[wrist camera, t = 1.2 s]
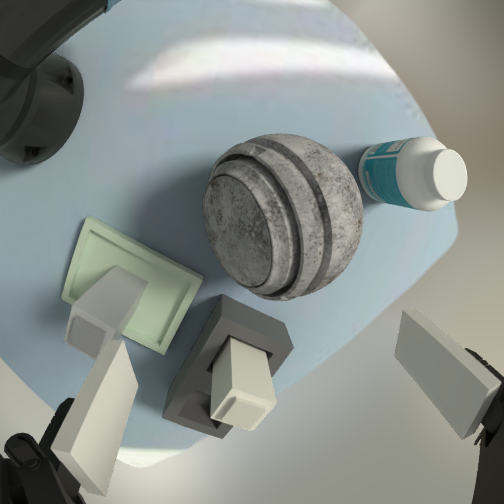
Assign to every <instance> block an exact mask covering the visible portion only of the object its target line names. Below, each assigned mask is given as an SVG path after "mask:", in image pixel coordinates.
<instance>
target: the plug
mask: <svg viewBox="0 0 504 504" xmlns="http://www.w3.org/2000/svg"><path fill="white" fill-rule="evenodd" d="M147 284H148V281H146V280H144V279H142V278H140V277H138V276H136V275H134V274H133V273H131V272H129V271H127V270H125V269H124V268H122V267H120V266H118V265H116V266H115V267H114V268H113V269H111V270H110V271H109V272H108V273H107V274H106V275H105V276H103V277H102V278H101V279H100V280H99V281H98V282H97V283H96V284H94V285H93V286H92V287H91V288H90V289H89V290H88V291H87V292H86V293H85V294H83V295H82V296H81V297H80V298H79V299H78V300H77V301H76V302H75V303H74V304H73V305H72V309H71V313H70V317H69V321H68V325H67V329H66V333H65V338H64V342H66V343H67V344H69V345H71V346H72V347H74V348H76V349H77V350H79V351H81V352H82V353H84V354H86V355H88V356H89V357H91V358H93V359H95V360H96V361H97V359H98V357H99V355H100V354H101V352H102V350H103V349H104V347H105V345H106V344H107V342H108V340H118V339H119V337H120V336H121V334H122V332H123V331H124V329H125V328H126V326H127V324H128V323H129V321H130V319H131V318H132V316H133V315H134V313H135V311H136V309H137V307H138V305H139V302H140V300H141V297H142V295H143V293H144V291H145V288H146V286H147Z"/></svg>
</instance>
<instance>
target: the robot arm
mask: <svg viewBox="0 0 504 504" xmlns="http://www.w3.org/2000/svg"><path fill="white" fill-rule="evenodd" d="M119 1H121V0H0V155H1V156H2V157H4V158H6V159H7V160H9V161H11V162H14V163H17V164H35V163H39V162H42V161H44V160H46V159H48V158H49V157H51V156H52V155H53V154H55V153H56V152H57V151H58V150H59V149H60V148H61V147H62V146H63V145H64V143H65V142H66V141H67V139H68V138H69V137H70V135H71V133H72V132H73V130H74V128H75V126H76V124H77V121H78V119H79V116H80V113H81V109H82V105H83V98H84V86H83V80H82V77H81V74H80V72H79V70H78V69H77V67H76V66H75V65H74V64H73V63H72V62H70V61H68V60H67V59H65V58H64V57H62V56H59V55H56V54H51V53H52V52H53V51H55V50H56V49H57V48H58V47H59V46H60V45H62V44H63V43H64V42H65V41H66V40H68V39H69V38H70V37H71V36H73V35H74V34H75V33H77V32H78V31H79V30H80V29H82V28H83V27H84V26H86V25H87V24H89V23H90V22H91V21H93V20H94V19H96V18H97V17H98V16H100V15H101V14H103V13H107V12H108V11H109V10H110V9H111V8H112V6H114V5H115V4H116V3H118V2H119ZM394 356H395V357H396V359H397V360H398V361H399V362H400V363H401V365H402V366H403V367H404V368H405V369H406V371H407V372H408V373H409V374H410V375H411V377H412V378H413V379H414V380H415V382H416V383H417V384H418V385H419V386H420V388H421V389H422V390H423V391H424V393H425V394H426V395H427V396H428V398H429V399H430V400H431V401H432V402H433V404H434V405H435V406H436V407H437V409H438V410H439V411H440V413H441V414H442V415H443V416H444V417H445V419H446V420H447V421H448V423H449V424H450V425H451V427H452V428H453V429H454V430H455V432H456V433H457V434H458V435H459V437H460V438H461V439H462V440H463V439H465V438H466V437H468V436H470V435H472V434H473V433H475V431H476V430H477V428H478V426H479V425H480V423H482V425H483V426H484V428H483V430H482V431H481V433H480V434H479V436H478V438H477V439H476V441H475V444H474V445H477V443H478V442H479V440H480V439H481V443H480V455H479V464H478V471H477V478H476V484H475V490H474V495H473V500H472V504H504V377H503V376H502V375H501V374H500V373H499V372H498V371H496V370H495V369H494V368H493V367H492V366H491V365H488V363H487V362H486V361H485V360H483V358H482V357H480V356H479V355H478V354H477V353H476V352H474V351H472V350H470V349H467V348H465V349H464V348H462V346H460V345H459V344H458V343H457V342H456V341H455V340H453V339H452V338H451V337H450V336H449V335H447V334H446V333H445V332H444V331H443V330H442V329H440V328H439V327H438V326H437V325H436V324H434V323H433V322H432V321H431V320H429V319H428V318H427V317H426V316H424V315H423V314H422V313H421V312H420V311H418V310H417V309H416V308H410V309H406V310H403V311H402V318H401V324H400V329H399V334H398V340H397V344H396V350H395V354H394ZM137 389H138V383H137V380H136V377H135V374H134V371H133V369H132V365H131V362H130V359H129V356H128V353H127V350H126V347H125V343H124V340H108V342H107V344H106V345H105V347H104V349H103V350H102V352H101V354H100V355H99V357H98V359H97V361H96V362H95V364H94V366H93V368H92V369H91V371H90V373H89V375H88V376H87V378H86V380H85V382H84V384H83V385H82V387H81V389H80V391H79V393H78V395H77V396H76V398H75V399H74V398H67V399H66V400H65V401H64V402H63V403H61V404H60V405H59V407H58V409H57V411H56V412H55V416H53V418H52V420H51V423H50V424H49V426H48V427H47V429H46V431H45V433H44V435H43V437H42V439H41V441H40V443H39V445H38V444H37V442H36V441H35V439H34V438H33V437H32V436H31V435H29V434H26V433H17V434H15V435H13V436H11V437H10V438H9V439H8V440H7V442H6V444H5V447H4V452H5V453H6V454H7V455H8V457H9V458H10V459H8V458H3V457H2V455H1V454H0V504H86V503H85V501H84V499H83V497H82V496H81V494H80V493H79V488H80V485H81V486H82V487H83V488H84V489H85V490H86V491H87V492H88V493H92V494H97V495H102V496H106V494H107V490H108V487H109V483H110V479H111V475H112V472H113V468H114V464H115V461H116V457H117V454H118V450H119V447H120V443H121V440H122V436H123V433H124V430H125V426H126V423H127V420H128V417H129V414H130V410H131V407H132V404H133V401H134V398H135V395H136V392H137Z"/></svg>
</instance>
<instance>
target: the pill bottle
mask: <svg viewBox="0 0 504 504" xmlns="http://www.w3.org/2000/svg"><path fill="white" fill-rule="evenodd" d="M358 174H359V180H360V183H361V185H362V187H363V189H364V191H365V192H366V193H367V194H368V195H369V196H370V197H371V198H373V199H374V200H376V201H379V202H383V203H388V204H393V205H398V206H403V207H408V208H412V209H417V210H422V211H435V210H438V209H440V208H442V207H443V206H445V205H446V204H447V203H448V202H449V201H455V200H457V199H459V198H460V197H461V196H462V194H463V193H464V191H465V188H466V185H467V170H466V166H465V163H464V161H463V159H462V158H461V156H460V155H459V154H458V153H456V152H455V151H453V150H450V149H446V147H445V146H444V145H443V144H442V143H440V142H439V141H437V140H435V139H433V138H430V137H417V138H410V139H404V140H398V141H392V142H386V143H381V144H376V145H373V146H371V147H370V148H368V149H367V150H366V151H365V152H364V154H363V155H362V157H361V159H360V163H359V168H358Z"/></svg>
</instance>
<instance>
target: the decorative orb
mask: <svg viewBox="0 0 504 504" xmlns="http://www.w3.org/2000/svg"><path fill="white" fill-rule="evenodd" d="M203 217H204V223H205V228H206V232H207V235H208V239H209V242H210V244H211V247H212V249H213V251H214V253H215V255H216V257H217V259H218V261H219V263H220V264H221V266H222V267H223V269H224V270H225V271H226V273H227V274H228V275H229V276H230V277H231V278H232V279H233V280H234V281H235V282H236V283H238V284H239V285H241V286H242V287H244V288H247V289H248V290H249V291H251V292H252V293H253V294H255V295H257V296H259V297H261V298H263V299H267V300H277V301H286V300H291V299H294V298H296V297H299V296H304V295H308V294H310V293H313V292H315V291H317V290H319V289H321V288H323V287H325V286H326V285H328V284H329V283H331V282H332V281H333V280H334V279H336V278H337V277H338V276H339V275H340V274H341V273H342V272H343V271H344V269H345V268H346V267H347V266H348V264H349V263H350V261H351V260H352V258H353V256H354V254H355V252H356V250H357V248H358V245H359V242H360V239H361V235H362V230H363V218H364V214H363V204H362V198H361V195H360V191H359V188H358V186H357V183H356V181H355V179H354V177H353V176H352V174H351V172H350V171H349V169H348V168H347V166H346V165H345V164H344V163H343V162H342V160H341V159H340V158H339V157H338V156H337V155H335V154H334V153H333V152H332V151H331V150H329V149H328V148H326V147H325V146H323V145H321V144H319V143H318V142H316V141H313V140H311V139H308V138H305V137H302V136H298V135H291V134H269V135H263V136H259V137H256V138H253V139H250V140H248V141H246V142H244V143H241V144H238V145H235V146H233V147H232V148H230V149H229V150H228V151H227V152H225V153H224V154H223V155H222V156H221V157H220V158H219V159H218V160H217V161H216V163H215V164H214V166H213V168H212V171H211V173H210V177H209V181H208V183H207V185H206V188H205V191H204V196H203Z"/></svg>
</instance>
